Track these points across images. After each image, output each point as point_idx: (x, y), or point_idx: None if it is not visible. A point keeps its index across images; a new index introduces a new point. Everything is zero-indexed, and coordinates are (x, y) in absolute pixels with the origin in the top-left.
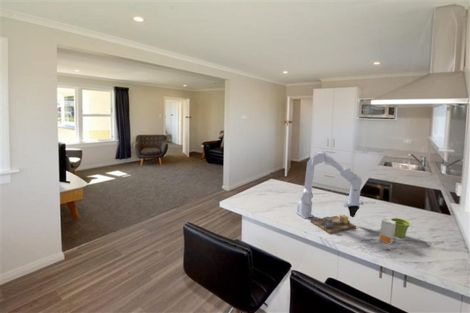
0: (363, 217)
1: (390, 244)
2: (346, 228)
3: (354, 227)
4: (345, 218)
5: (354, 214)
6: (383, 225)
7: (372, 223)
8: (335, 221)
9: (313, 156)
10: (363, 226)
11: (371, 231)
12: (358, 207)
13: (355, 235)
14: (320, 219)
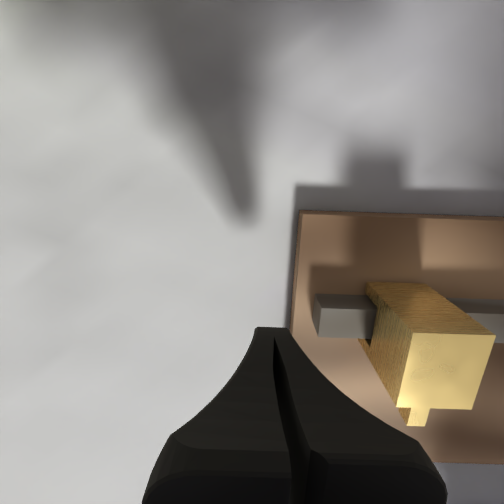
0: (3, 355)
1: None
2: (460, 219)
3: (328, 212)
4: (468, 326)
5: (271, 348)
6: None
7: (13, 217)
8: None
9: None
10: (183, 203)
11: (204, 60)
12: (229, 459)
13: (493, 63)
14: (501, 453)
